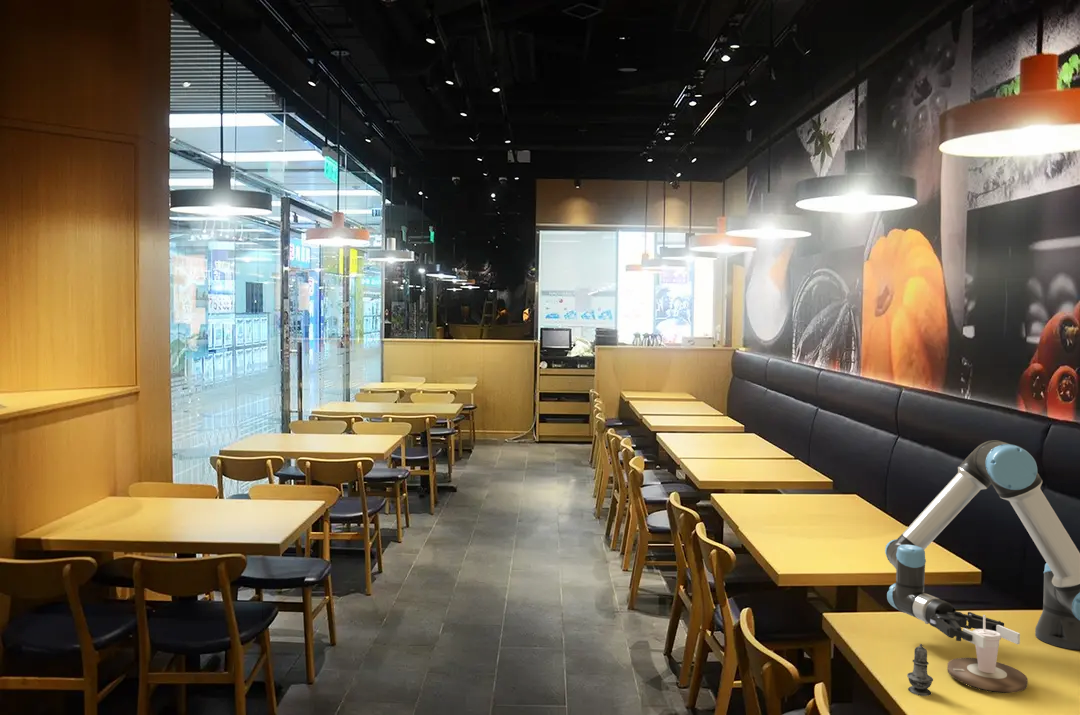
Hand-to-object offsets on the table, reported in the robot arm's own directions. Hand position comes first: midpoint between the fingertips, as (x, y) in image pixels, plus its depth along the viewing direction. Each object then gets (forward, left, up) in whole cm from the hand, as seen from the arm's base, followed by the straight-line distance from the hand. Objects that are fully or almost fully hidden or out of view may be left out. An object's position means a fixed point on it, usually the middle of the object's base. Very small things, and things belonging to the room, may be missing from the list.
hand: (1001, 640), depth 202 cm
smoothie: (+1, -4, -9) cm, 10 cm away
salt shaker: (+21, +4, -12) cm, 25 cm away
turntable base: (+1, -4, -12) cm, 13 cm away
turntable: (+1, -4, -11) cm, 12 cm away
